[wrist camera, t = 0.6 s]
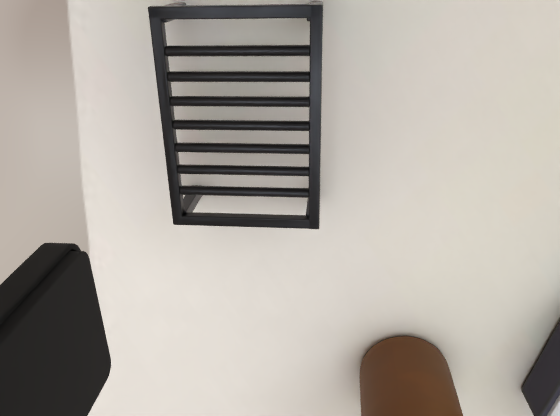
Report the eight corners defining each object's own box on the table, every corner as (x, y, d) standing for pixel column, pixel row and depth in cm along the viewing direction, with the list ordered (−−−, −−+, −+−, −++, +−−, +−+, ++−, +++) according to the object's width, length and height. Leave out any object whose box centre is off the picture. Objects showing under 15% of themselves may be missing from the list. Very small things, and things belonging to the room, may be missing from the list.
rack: (172, 1, 34) (147, 6, 29) (324, -1, 33) (322, 4, 29) (191, 195, 40) (173, 225, 35) (320, 199, 39) (319, 229, 34)
